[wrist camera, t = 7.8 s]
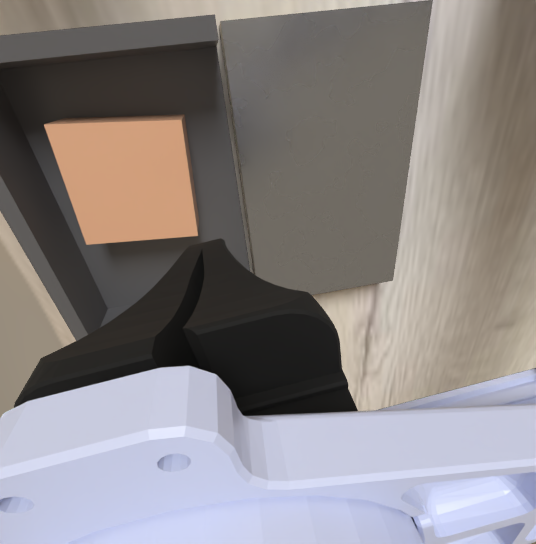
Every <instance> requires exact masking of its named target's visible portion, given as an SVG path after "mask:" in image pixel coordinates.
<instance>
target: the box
mask: <svg viewBox="0 0 536 544" xmlns="http://www.w3.org/2000/svg"><path fill="white" fill-rule="evenodd" d="M217 43H218V33H217V26H216V19H215V15H206V16H196V17H186V18H175V19H165V20H155V21H145V22H134V23H124V24H114V25H104V26H93V27H83V28H73V29H63V30H53V31H42V32H32V33H22V34H12V35H1V36H0V211H1V213H2V214H3V216H4V218H5V220H6V221H7V223H8V225H9V226H10V228H11V230H12V231H13V233H14V235H15V237H16V238H17V240H18V242H19V243H20V245H21V247H22V249H23V250H24V252H25V254H26V255H27V257H28V259H29V261H30V262H31V264H32V266H33V267H34V269H35V271H36V273H37V274H38V276H39V278H40V279H41V281H42V283H43V285H44V286H45V288H46V290H47V291H48V293H49V295H50V296H51V298H52V300H53V302H54V303H55V305H56V307H57V308H58V310H59V312H60V314H61V315H62V317H63V319H64V320H65V322H66V324H67V326H68V327H69V329H70V331H71V332H72V334H73V336H74V338H75V339H76V341H78V340H79V339H81V338H83V337H85V336H87V335H88V334H90V333H92V332H94V331H95V330H97V329H99V328H100V327H102V326H104V325H105V324H107V323H108V322H110V321H111V320H113V319H114V318H116V317H117V316H118V315H120V314H121V313H123V312H124V311H125V310H127V309H128V308H129V307H131V306H132V305H134V304H135V303H136V302H137V301H138V300H140V299H141V298H142V297H143V296H144V295H145V294H146V293H148V292H149V291H150V290H151V289H152V288H153V287H154V286H155V285H156V284H157V283H158V281H159V280H160V279H161V278H162V277H163V276H164V275H165V274H166V273H167V272H168V271H169V269H170V268H171V267H172V266H173V264H174V263H175V262H176V261H177V260H178V258H179V257H180V256H181V255H182V253H183V252H184V251H185V250H186V248H187V247H188V246H191V245H195V244H199V243H203V242H207V241H211V240H216V239H220V238H221V239H223V240H225V244H226V247H227V248H228V250H229V251H230V253H231V254H232V255H233V256H234V257H235V258H236V260H237V261H238V262H239V263H241V264H242V265H243V266H244V267H245V268H246V269H247V270H249V271H250V267H249V261H248V254H247V247H246V241H245V234H244V227H243V221H242V214H241V207H240V201H239V194H238V187H237V181H236V174H235V167H234V161H233V154H232V147H231V141H230V134H229V127H228V121H227V114H226V107H225V101H224V94H223V87H222V81H221V74H220V67H219V61H218V54H217V47H216V46H217ZM181 114H185V121H186V128H187V135H188V143H189V150H190V157H191V165H192V172H193V179H194V187H195V194H196V201H197V208H198V216H199V227H198V236H190V237H177V238H165V239H152V240H140V241H127V242H115V243H102V244H90V245H86V242H85V239H84V237H83V234H82V231H81V228H80V225H79V223H78V220H77V217H76V214H75V211H74V208H73V206H72V203H71V200H70V197H69V194H68V191H67V189H66V186H65V183H64V180H63V177H62V175H61V172H60V169H59V166H58V163H57V160H56V158H55V155H54V152H53V149H52V146H51V143H50V141H49V138H48V135H47V132H46V129H45V127H44V124H47V123H50V122H54V121H57V120H60V119H63V118H83V117H116V116H148V115H181Z"/></svg>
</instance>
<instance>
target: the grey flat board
mask: <svg viewBox="0 0 536 544" xmlns="http://www.w3.org/2000/svg"><path fill="white" fill-rule="evenodd" d="M432 2H433V0H428V1H418V2H408V3H398V4H388V5H378V6H368V7H358V8H348V9H338V10H328V11H318V12H308V13H298V14H288V15H278V16H268V17H258V18H248V19H238V20H228V21H221V22H220V26H219V29H220V36H221V43H222V50H223V57H224V64H225V71H226V78H227V85H228V92H229V99H230V106H231V113H232V120H233V127H234V135H235V142H236V149H237V156H238V163H239V170H240V177H241V184H242V191H243V198H244V205H245V212H246V219H247V226H248V233H249V240H250V247H251V254H252V261H253V268H254V275H256V276H257V277H259V278H261V279H263V280H265V281H267V282H269V283H272V284H274V285H277V286H281V287H284V288H288V289H293V290H299V291H305V292H308V293H310V294H311V295H314V294H320V293H326V292H331V291H337V290H343V289H348V288H354V287H359V286H365V285H371V284H376V283H382V282H388V281H393V276H394V269H395V262H396V255H397V248H398V241H399V234H400V227H401V220H402V213H403V206H404V199H405V192H406V184H407V177H408V170H409V163H410V156H411V149H412V142H413V135H414V128H415V121H416V114H417V107H418V100H419V93H420V86H421V79H422V72H423V65H424V58H425V51H426V44H427V37H428V30H429V23H430V16H431V9H432Z"/></svg>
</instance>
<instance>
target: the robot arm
mask: <svg viewBox="0 0 536 544" xmlns="http://www.w3.org/2000/svg"><path fill="white" fill-rule="evenodd" d="M533 542H536V368H533V369H530V370H526V371H522V372H518V373H515V374H511V375H507V376H503V377H500V378H496V379H492V380H488V381H484V382H481V383H477V384H473V385H469V386H466V387H462V388H458V389H454V390H450V391H447V392H443V393H439V394H435V395H432V396H428V397H424V398H420V399H417V400H413V401H409V402H405V403H401V404H398V405H394V406H390V407H386V408H383V409H379V410H375V411H358V410H357V408H356V405H355V403H354V401H353V399H352V396H351V394H350V392H349V390H348V382H347V379H346V377H345V375H344V372H343V370H342V364H341V352H340V341H339V337H338V333H337V330H336V328H335V326H334V324H333V323H332V321H331V319H330V318H329V317H328V315H327V314H326V312H325V311H324V310H323V308H322V307H321V306H320V305H319V303H318V302H317V301H316V300H315V299H314V298H313V297H312V296H311V294H310V293H308V292H305V291H299V290H293V289H288V288H284V287H281V286H277V285H274V284H272V283H269V282H267V281H265V280H263V279H261V278H259V277H257V276H256V275H254V274H253V273H251V272H250V271H249V270H247V269H246V268H245V267H244V266H243V265H242V264H241V263H239V262H238V261H237V260H236V258H235V257H234V256H233V255H232V254H231V253H230V251H229V250H228V248H227V247H226V244H225V240H223V239H221V238H220V239H216V240H211V241H207V242H203V243H199V244H195V245H191V246H188V247H187V248H186V250H185V251H184V252H183V253H182V255H181V256H180V257H179V258H178V260H177V261H176V262H175V263H174V264H173V266H172V267H171V268H170V269H169V271H168V272H167V273H166V274H165V275H164V276H163V277H162V278H161V279H160V280H159V281H158V283H157V284H156V285H155V286H154V287H153V288H152V289H151V290H150V291H149V292H148V293H146V294H145V295H144V296H143V297H142V298H141V299H140V300H138V301H137V302H136V303H135V304H134V305H132V306H131V307H129V308H128V309H127V310H125V311H124V312H123V313H121V314H120V315H118V316H117V317H116V318H114V319H113V320H111V321H110V322H108V323H107V324H105V325H104V326H102V327H100V328H99V329H97V330H95V331H94V332H92V333H90V334H88V335H87V336H85V337H83V338H81V339H79V340H78V341H76V342H74V343H72V344H70V345H68V346H66V347H64V348H61V349H60V350H58V351H55V352H53V353H51V354H49V355H47V356H45V357H43V358H41V359H40V361H39V363H38V365H37V366H36V368H35V370H34V371H33V373H32V375H31V377H30V378H29V380H28V382H27V383H26V385H25V387H24V388H23V390H22V392H21V394H20V395H19V397H18V399H17V400H16V402H15V405H14V408H13V409H11V410H9V411H7V412H5V413H4V414H3V415H2V417H1V418H0V544H530V543H533Z"/></svg>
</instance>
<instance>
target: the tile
mask: <svg viewBox="0 0 536 544" xmlns="http://www.w3.org/2000/svg"><path fill="white" fill-rule="evenodd" d="M44 127H45V129H46V132H47V135H48V138H49V141H50V143H51V146H52V149H53V152H54V155H55V158H56V160H57V163H58V166H59V169H60V172H61V175H62V177H63V180H64V183H65V186H66V189H67V191H68V194H69V197H70V200H71V203H72V206H73V208H74V211H75V214H76V217H77V220H78V223H79V225H80V228H81V231H82V234H83V237H84V239H85V242H86V245H90V244H102V243H115V242H127V241H140V240H152V239H165V238H177V237H190V236H198V227H199V216H198V208H197V201H196V194H195V187H194V179H193V172H192V165H191V157H190V150H189V143H188V135H187V128H186V121H185V114H181V115H148V116H116V117H83V118H63V119H60V120H57V121H54V122H50V123H47V124H44Z"/></svg>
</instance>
